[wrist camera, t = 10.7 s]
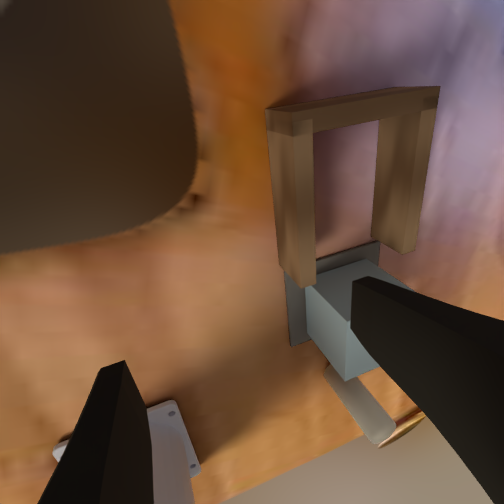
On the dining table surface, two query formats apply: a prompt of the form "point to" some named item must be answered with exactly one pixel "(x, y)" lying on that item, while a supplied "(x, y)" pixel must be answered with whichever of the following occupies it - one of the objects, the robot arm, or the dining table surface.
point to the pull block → (347, 344)
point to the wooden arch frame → (386, 177)
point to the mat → (296, 294)
